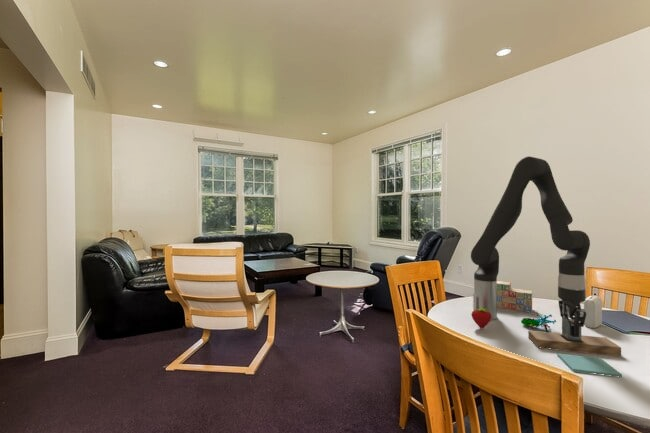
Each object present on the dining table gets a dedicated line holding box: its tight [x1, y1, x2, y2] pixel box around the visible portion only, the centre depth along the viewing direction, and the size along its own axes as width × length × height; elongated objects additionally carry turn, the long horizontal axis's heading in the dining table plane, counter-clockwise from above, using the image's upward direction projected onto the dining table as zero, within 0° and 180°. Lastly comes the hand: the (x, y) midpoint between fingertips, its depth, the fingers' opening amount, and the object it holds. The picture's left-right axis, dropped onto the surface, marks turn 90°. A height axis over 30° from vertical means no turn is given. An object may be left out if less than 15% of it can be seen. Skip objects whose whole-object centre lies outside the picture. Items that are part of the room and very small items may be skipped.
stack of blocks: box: [497, 280, 533, 313], centre depth 148 cm, size 21×6×12 cm, turn 50°
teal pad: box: [556, 353, 623, 378], centre depth 91 cm, size 12×10×1 cm
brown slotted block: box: [527, 330, 622, 357], centre depth 104 cm, size 24×8×3 cm, turn 73°
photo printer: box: [583, 295, 603, 329], centre depth 123 cm, size 10×4×12 cm, turn 123°
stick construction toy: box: [520, 313, 557, 332], centre depth 119 cm, size 12×7×8 cm
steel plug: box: [561, 317, 582, 342], centre depth 104 cm, size 4×4×10 cm
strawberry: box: [471, 304, 492, 329], centre depth 121 cm, size 6×8×10 cm
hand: (571, 333), depth 104 cm, fingers closed on steel plug, 4 cm apart
